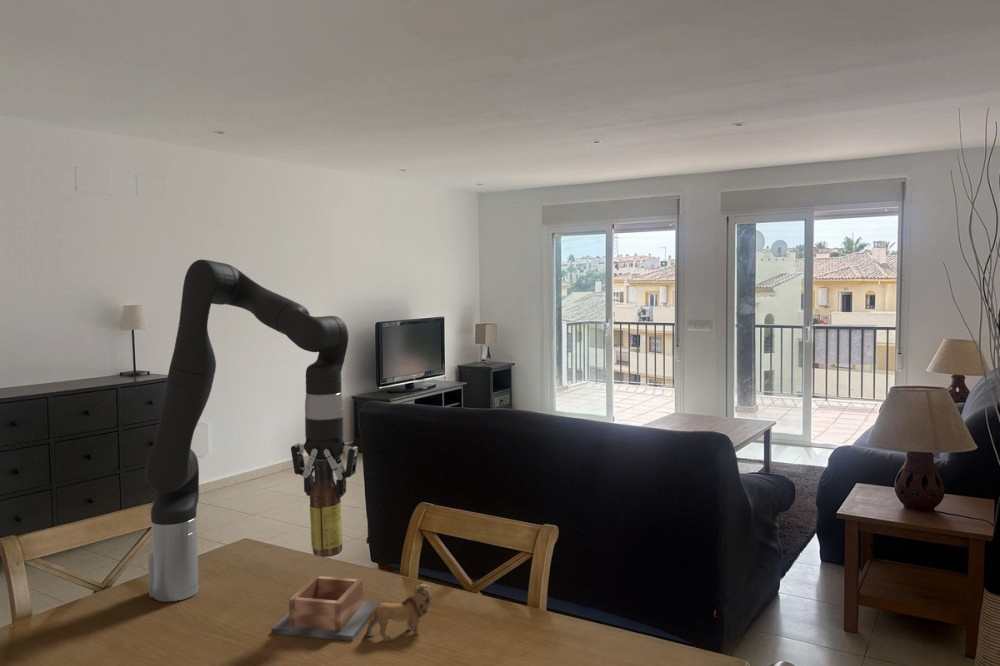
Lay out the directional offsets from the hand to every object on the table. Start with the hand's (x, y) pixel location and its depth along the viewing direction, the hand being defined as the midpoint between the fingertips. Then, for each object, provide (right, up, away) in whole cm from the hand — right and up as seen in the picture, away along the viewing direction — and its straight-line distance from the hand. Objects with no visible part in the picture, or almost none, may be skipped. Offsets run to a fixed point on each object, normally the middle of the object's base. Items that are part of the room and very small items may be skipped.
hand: (325, 495), depth 148 cm
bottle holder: (0, -26, +2) cm, 26 cm away
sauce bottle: (0, -12, +1) cm, 12 cm away
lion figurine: (+16, -27, -4) cm, 31 cm away
